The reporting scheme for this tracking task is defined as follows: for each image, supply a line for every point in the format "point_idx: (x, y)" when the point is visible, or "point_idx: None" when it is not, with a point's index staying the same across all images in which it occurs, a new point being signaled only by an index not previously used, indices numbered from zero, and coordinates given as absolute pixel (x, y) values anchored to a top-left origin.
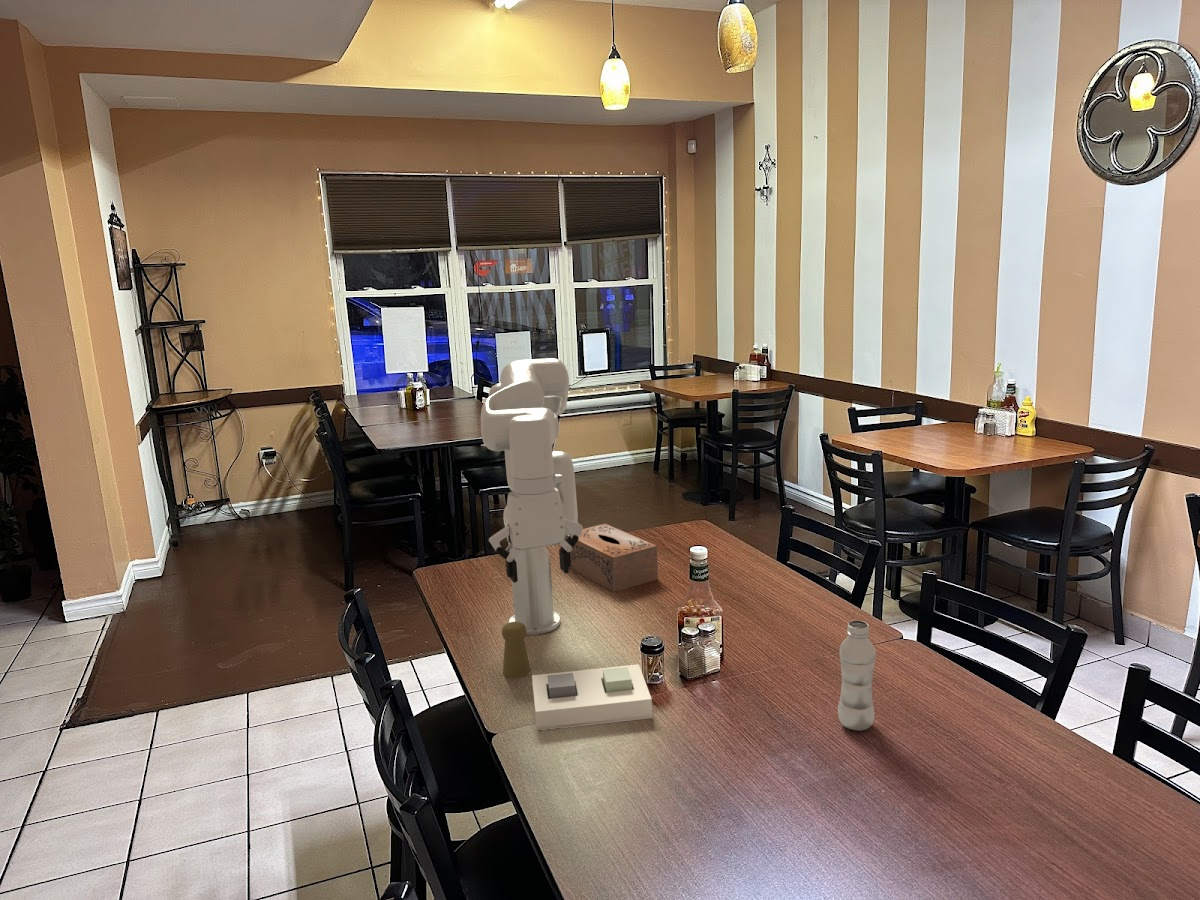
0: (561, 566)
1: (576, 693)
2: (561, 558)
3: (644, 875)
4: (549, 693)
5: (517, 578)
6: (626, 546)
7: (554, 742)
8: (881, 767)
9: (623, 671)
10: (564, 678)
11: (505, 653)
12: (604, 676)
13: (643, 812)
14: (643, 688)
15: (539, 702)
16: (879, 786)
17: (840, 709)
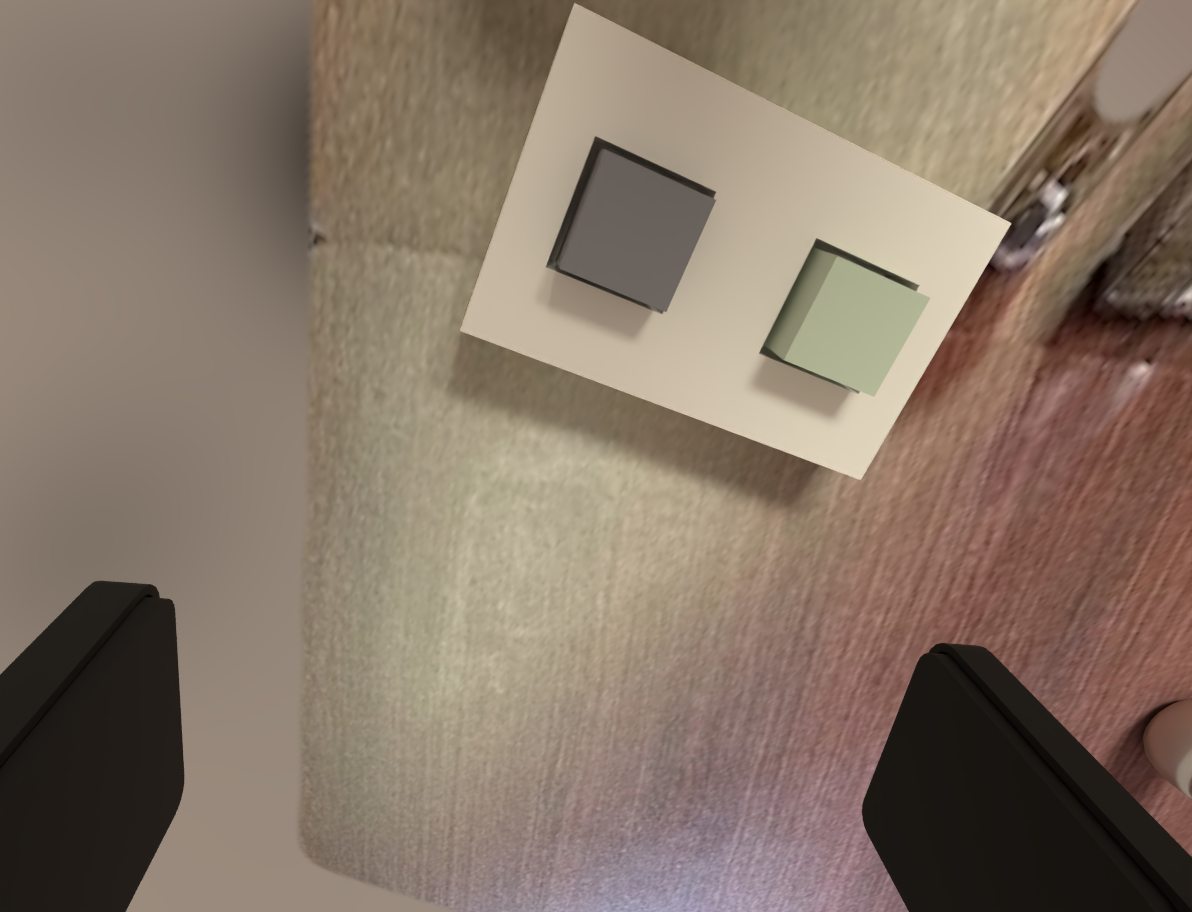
0: (929, 746)
1: None
2: (1005, 886)
3: (461, 883)
4: (565, 242)
5: (159, 842)
6: None
7: (492, 407)
8: None
9: (893, 321)
10: (658, 226)
11: None
12: (808, 309)
13: (557, 757)
14: (888, 405)
15: (502, 272)
16: None
17: (1181, 753)
